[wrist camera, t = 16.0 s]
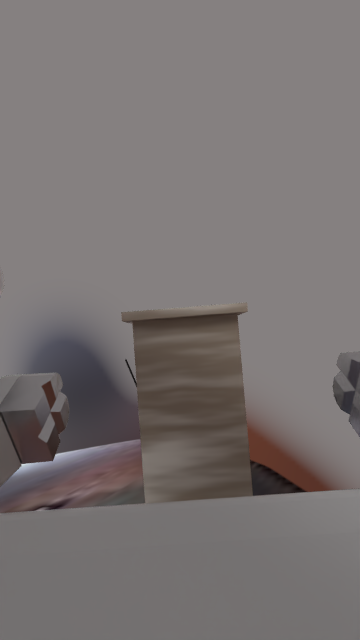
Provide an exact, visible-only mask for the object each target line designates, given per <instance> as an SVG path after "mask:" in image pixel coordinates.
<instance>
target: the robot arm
mask: <svg viewBox="0 0 360 640" xmlns="http://www.w3.org/2000/svg"><path fill="white" fill-rule="evenodd" d="M3 287H4V277H3V273H2V270H1V267H0V297H1V294H2V292H3ZM337 366H338V368H339V369H340V372H339V373H338V374H337V375H336V376H335V377H334V382H333V392H334V397H335V400H336V402H337V404H338V406H339V407H340V409H341V410H343V411H344V412H346V413H348V414H350V417H349V422H350V424H351V425H352V427H353V428H354V430H355V431H356V433H357V434H358V436H359V437H360V351H358V352H346V353H340V355H339V357H338V360H337ZM62 386H63V383H62V380H61V377H60V375H59V374H58V373H42V374H23V375H8V376H4V377H2V378H1V379H0V487H1V486H2V485H3V484H4V483H5V482H6V481H7V480H8V479H9V478H10V477H11V476H12V475H13V474H14V473H15V472H16V471H17V470H18V469H19V468H20V467H21V464H26V463H36V462H46V461H53V460H54V457H55V454H56V452H57V449H58V447H59V444H60V438H59V434H60V433H61V432H62V431H63V430H64V429H65V428H66V425H67V423H68V417H69V404H68V400H67V397H66V396H65V395H64V394H63V393H62V392H60V390H61V388H62ZM0 640H360V489H348V490H332V491H319V492H303V493H288V494H274V495H259V496H245V497H230V498H216V499H202V500H187V501H173V502H159V503H144V504H130V505H115V506H101V507H87V508H72V509H58V510H43V511H29V512H14V513H0Z"/></svg>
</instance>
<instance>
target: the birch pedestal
mask: <svg viewBox="0 0 360 640" xmlns="http://www.w3.org/2000/svg"><path fill="white" fill-rule="evenodd" d="M245 312H247V303H235V304H222V305H209V306H196V307H183V308H172V309H158V310H146V311H133V312H122V313H121V314H122V321H123V322H127V323H132V324H133V337H134V351H135V365H136V378H137V379H136V380H137V394H138V408H139V422H140V437H141V451H142V465H143V480H144V494H145V503H159V502H173V501H187V500H202V499H216V498H230V497H245V496H253V490H252V479H251V467H250V456H249V444H248V433H247V421H246V409H245V398H244V386H243V374H242V363H241V351H240V340H239V328H238V316H237V315H240V314H242V313H245Z"/></svg>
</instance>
